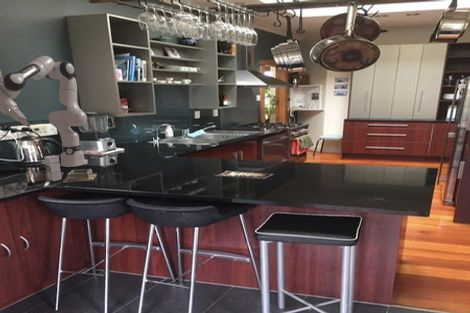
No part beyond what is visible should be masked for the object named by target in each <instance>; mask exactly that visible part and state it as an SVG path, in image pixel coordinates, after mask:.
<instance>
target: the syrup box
mask: <svg viewBox="0 0 470 313" xmlns="http://www.w3.org/2000/svg"><path fill="white" fill-rule="evenodd" d="M44 164H45V171H46V180H47V181H50V182H55V181H56V182H57V181H60V180H62V173H61V166H60V164H61V163H60V157H59V155H54V154H53V155H46V156H44Z"/></svg>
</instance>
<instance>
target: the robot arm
mask: <svg viewBox="0 0 470 313" xmlns="http://www.w3.org/2000/svg"><path fill="white" fill-rule="evenodd" d="M75 73H76V68H75V66H74V64H73V63H72V62H71V61H67V60H64V61H54V59H53V58H52V57H50V56H48V55H42V56H39V57H37V58H35V59H33V60H32V61H30V62H29V63H28V64H27V65H26V66H24V67H23V68H22V69H20V70H18V71H14V72H9V73H7V74H5V75H4V78H3V81H2V82H0V113H1V114H3V115H6V116H10V117H11V118H12V119H13V120H15V121H17V122H19V123H21V124H22V125H23V126H24V127H27V128H29V127H31V123H29V122H28V120H27V117H26V116H25V115H24V113H23V112H22V111H21V110H20V108H19V107H18V104H17V103H16V102H15V101H14V100H15V99H16V98H17V97H18V96H19V95H20V93H21V91H22V89H23V88H24V87H25V86H26V83H27V81H28V80H30V79H32V80H36V81H39V80H41V79H43V78H45V77H46V79H49V80H58V81H59V102H60V104H62V105H64V106H65V107H66V110H55V111H51V112H50V113H49V114H48V121H49V123H50V124H51V125H52V126H53V127H54V128H56V130H57V132H58V133H59V135H60V140H61V144H62V146H61V151H62V152H61V153H60V163H59V164H60V167H65V168H70V167H71V168H72V167H73V168H75V167H79V166H84V165H88V159H86V157H85V156H84V155H85V154H84V152H83V151H82V147H81V146H82V145H81V144H80V136H79V133H78V132H76V131H74V130H73V129H72V128H71V127H81V126H84V125H86V123H87V121H88V116H87V114H86V112H84V111H83V110H82V109H81V108H80V106H79V103H78V84H77V79H76V77H75V75H76V74H75Z"/></svg>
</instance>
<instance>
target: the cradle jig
mask: <svg viewBox="0 0 470 313" xmlns="http://www.w3.org/2000/svg"><path fill="white" fill-rule="evenodd" d="M97 174H98V173H93V170H92V168H87V169H86V168H85V169H82V168H81V169H71V171H70V172H68V173H67V174H66V177H65V179H64V180H63V181H62V183H64V184H65V183H66V184H67V183H80V182H82V183H83V182H92V181H94V180H95V178H96V177H97Z"/></svg>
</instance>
